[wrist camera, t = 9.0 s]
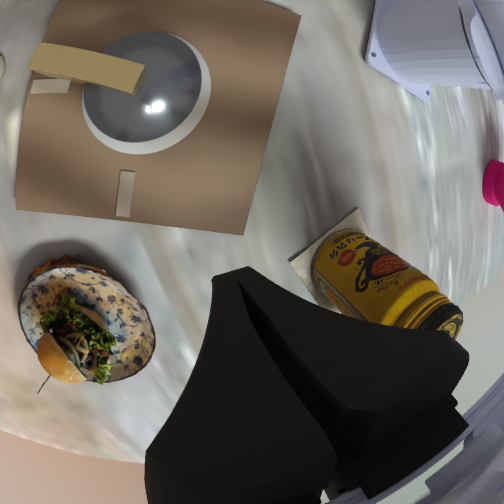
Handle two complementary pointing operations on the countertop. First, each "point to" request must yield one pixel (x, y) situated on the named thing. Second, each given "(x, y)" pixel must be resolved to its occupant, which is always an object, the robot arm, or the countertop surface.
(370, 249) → the condiment
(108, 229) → the countertop surface
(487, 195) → the pepper mill
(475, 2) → the robot arm
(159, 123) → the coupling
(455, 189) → the countertop surface
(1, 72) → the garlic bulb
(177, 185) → the post base
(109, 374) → the plate of food
